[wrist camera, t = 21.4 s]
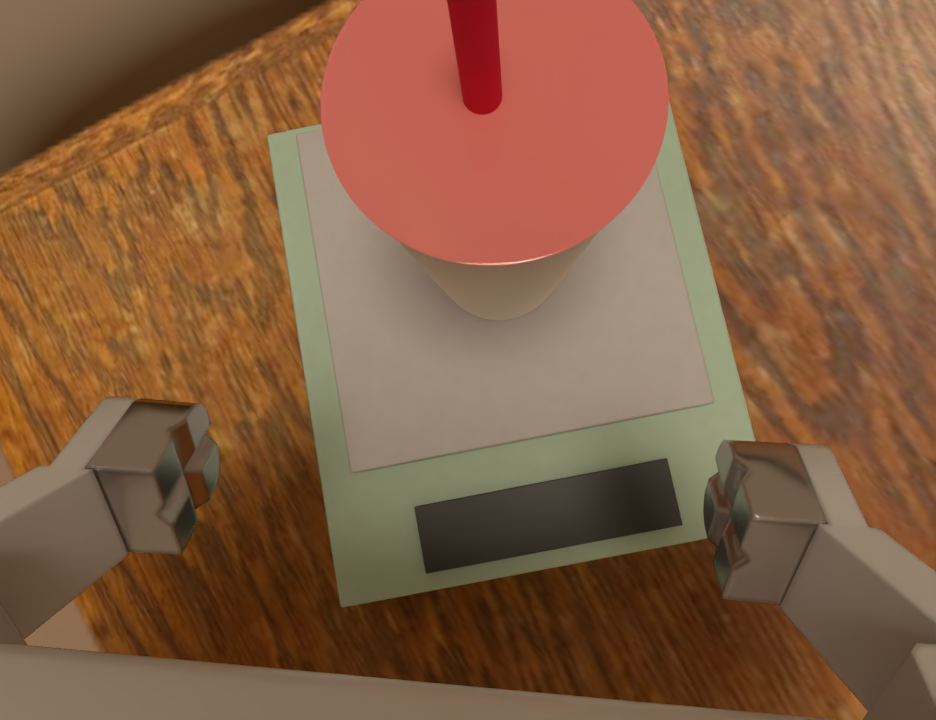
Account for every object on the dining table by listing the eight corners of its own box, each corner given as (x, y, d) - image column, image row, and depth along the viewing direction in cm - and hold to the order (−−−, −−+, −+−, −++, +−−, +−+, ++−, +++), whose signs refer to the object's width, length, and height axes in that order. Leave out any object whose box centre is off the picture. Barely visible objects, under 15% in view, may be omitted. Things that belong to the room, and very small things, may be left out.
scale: (358, 592, 21) (334, 613, 18) (290, 167, 24) (259, 124, 21) (747, 519, 21) (786, 527, 18) (642, 94, 23) (662, 40, 20)
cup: (387, 192, 20) (215, -198, 8) (571, 151, 20) (665, -304, 8) (424, 374, 19) (290, 232, 7) (616, 332, 19) (793, 122, 7)
